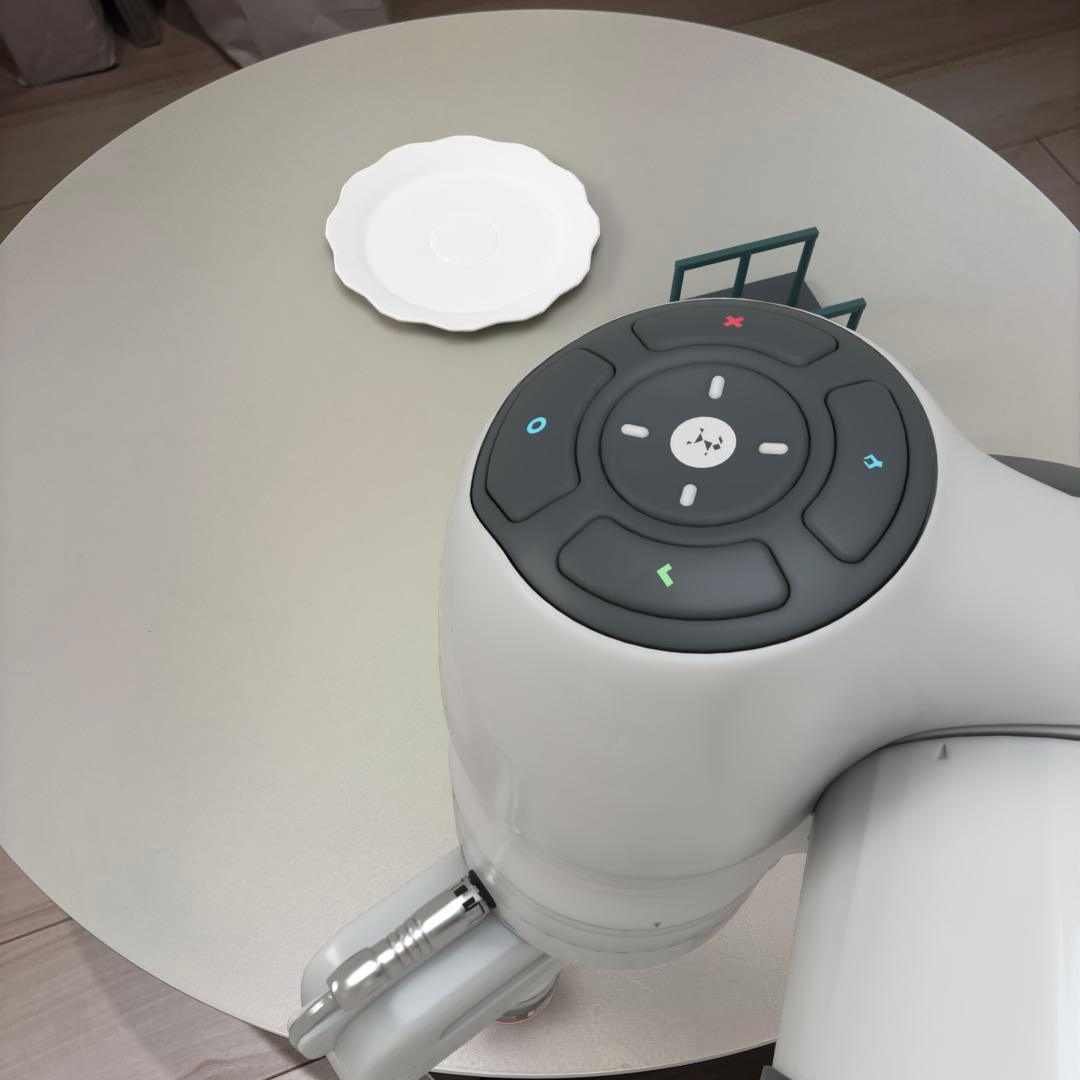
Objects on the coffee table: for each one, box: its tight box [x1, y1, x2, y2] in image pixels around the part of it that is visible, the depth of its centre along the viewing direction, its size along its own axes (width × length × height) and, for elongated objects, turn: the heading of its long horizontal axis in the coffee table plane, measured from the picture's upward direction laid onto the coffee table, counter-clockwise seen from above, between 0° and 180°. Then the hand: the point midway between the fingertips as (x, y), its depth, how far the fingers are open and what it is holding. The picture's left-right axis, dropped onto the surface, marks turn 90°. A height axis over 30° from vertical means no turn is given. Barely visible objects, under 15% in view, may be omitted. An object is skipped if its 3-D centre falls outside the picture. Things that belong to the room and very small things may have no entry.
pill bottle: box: [493, 971, 560, 1025], centre depth 57 cm, size 5×5×10 cm
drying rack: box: [668, 226, 918, 380], centre depth 78 cm, size 20×14×8 cm
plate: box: [324, 135, 601, 332], centre depth 89 cm, size 21×21×2 cm
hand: (584, 912), depth 43 cm, fingers open, 8 cm apart
